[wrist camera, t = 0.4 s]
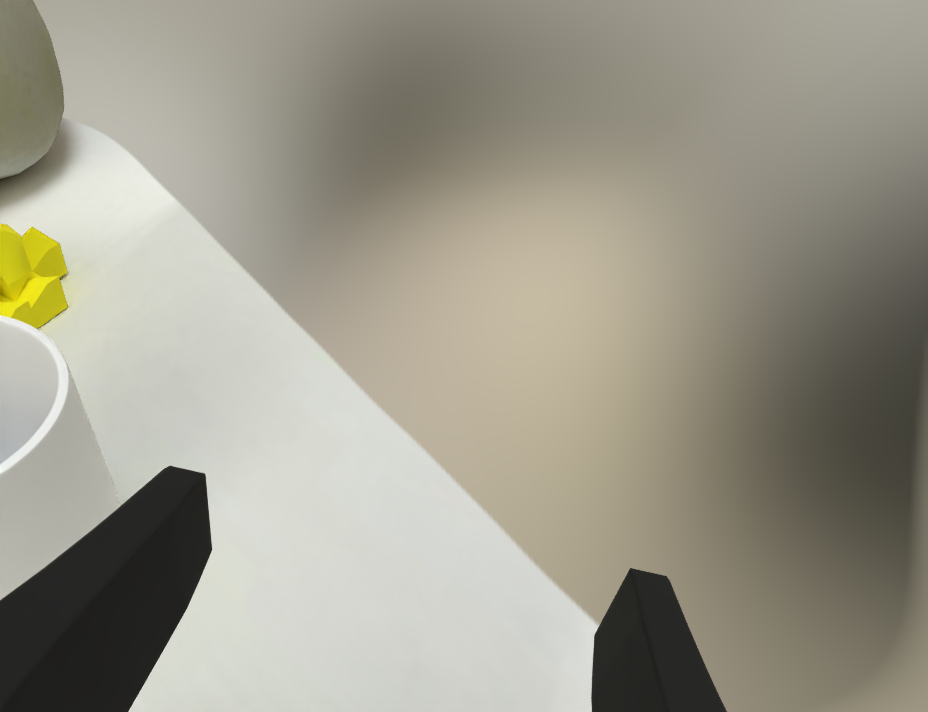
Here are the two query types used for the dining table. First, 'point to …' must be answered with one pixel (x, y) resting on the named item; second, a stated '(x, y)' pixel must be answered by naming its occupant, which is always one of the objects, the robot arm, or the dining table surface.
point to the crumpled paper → (30, 276)
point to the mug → (44, 457)
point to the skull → (26, 87)
